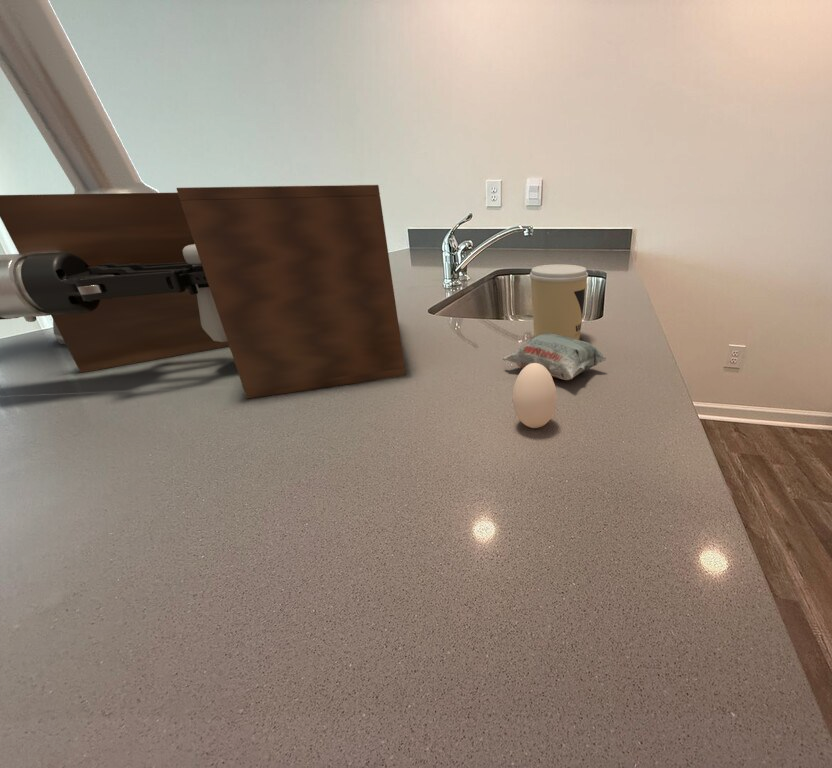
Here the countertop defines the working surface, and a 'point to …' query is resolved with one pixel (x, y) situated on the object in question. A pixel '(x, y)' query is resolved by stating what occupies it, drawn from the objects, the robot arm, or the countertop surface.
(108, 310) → the cupboard door
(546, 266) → the coffee cup
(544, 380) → the egg
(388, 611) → the countertop surface
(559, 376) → the packaged food
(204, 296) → the salt shaker
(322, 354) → the wooden board
